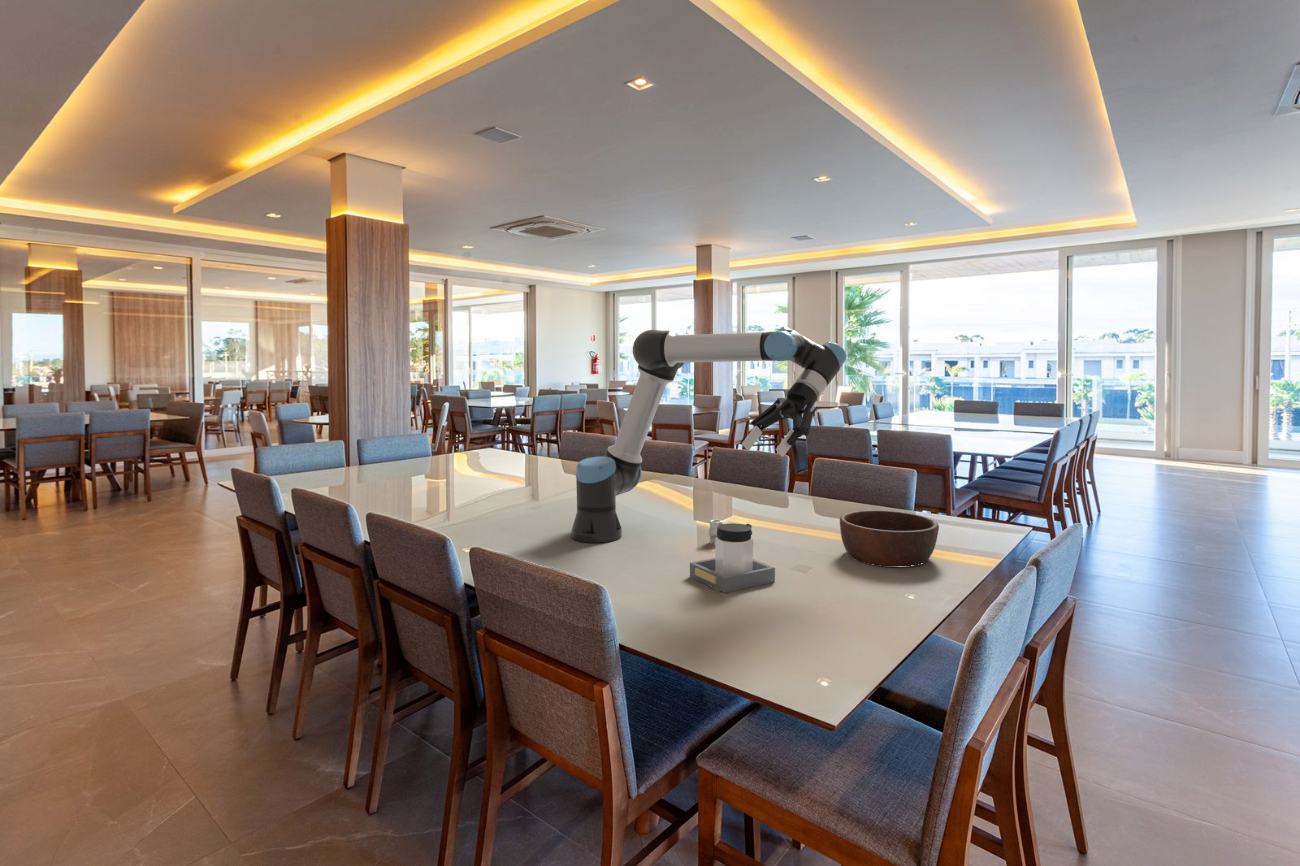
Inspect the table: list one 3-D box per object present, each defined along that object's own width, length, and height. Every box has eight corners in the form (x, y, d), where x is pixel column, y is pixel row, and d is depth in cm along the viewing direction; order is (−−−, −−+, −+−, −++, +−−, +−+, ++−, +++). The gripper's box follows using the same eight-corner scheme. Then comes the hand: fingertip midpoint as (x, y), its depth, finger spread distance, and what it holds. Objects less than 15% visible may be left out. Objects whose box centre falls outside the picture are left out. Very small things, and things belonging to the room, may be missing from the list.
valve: (705, 545, 195) (746, 549, 191) (705, 522, 194) (747, 526, 190) (712, 539, 201) (752, 543, 197) (712, 517, 201) (752, 521, 196)
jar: (730, 568, 170) (730, 521, 169) (758, 574, 165) (758, 526, 163) (708, 577, 163) (709, 528, 162) (737, 584, 158) (738, 533, 157)
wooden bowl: (939, 550, 189) (940, 514, 188) (935, 577, 166) (937, 536, 165) (846, 541, 199) (847, 506, 198) (831, 564, 177) (832, 525, 176)
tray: (687, 576, 167) (687, 563, 166) (738, 566, 175) (738, 553, 174) (722, 593, 155) (722, 578, 154) (774, 581, 163) (775, 567, 162)
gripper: (848, 402, 173) (803, 465, 167) (782, 398, 194) (739, 453, 188) (833, 382, 170) (787, 445, 164) (768, 379, 191) (724, 435, 185)
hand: (761, 450), depth 176 cm, fingers open, 13 cm apart
